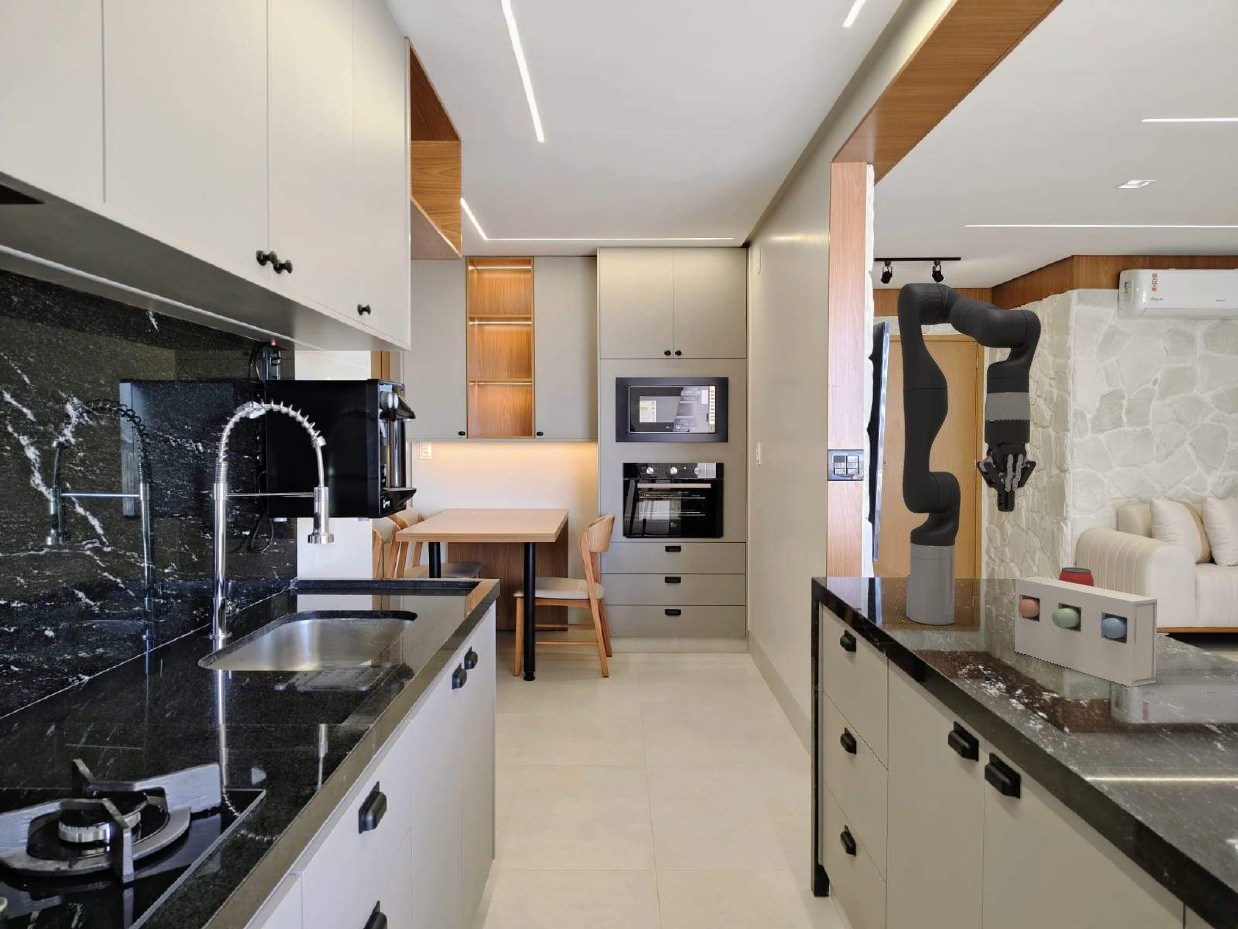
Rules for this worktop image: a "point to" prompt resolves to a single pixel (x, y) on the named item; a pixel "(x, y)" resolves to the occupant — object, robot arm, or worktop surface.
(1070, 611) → the sage button
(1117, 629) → the blue button
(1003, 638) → the worktop surface
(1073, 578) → the beer can
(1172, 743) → the worktop surface
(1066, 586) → the console
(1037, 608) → the terracotta button
